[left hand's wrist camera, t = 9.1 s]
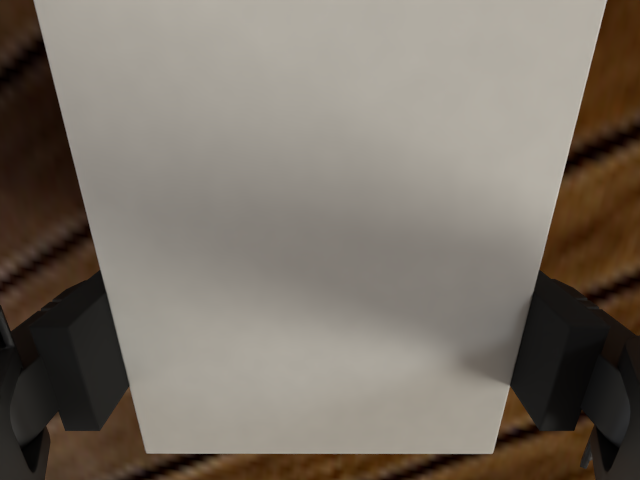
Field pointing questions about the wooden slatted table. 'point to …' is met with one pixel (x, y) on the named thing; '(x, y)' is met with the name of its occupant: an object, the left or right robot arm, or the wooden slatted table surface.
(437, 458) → the wooden slatted table surface
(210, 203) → the cabinet
